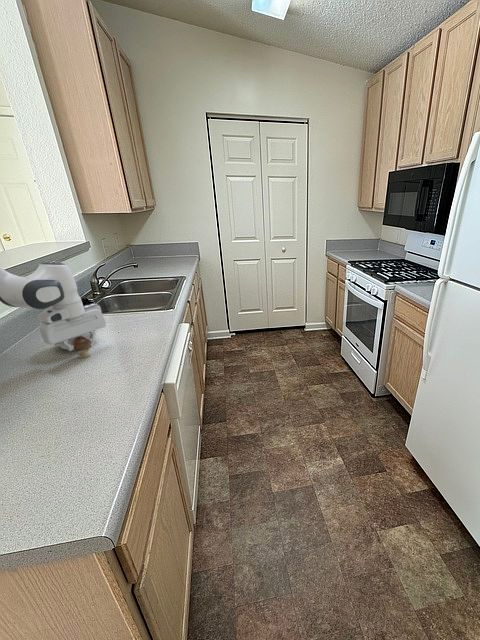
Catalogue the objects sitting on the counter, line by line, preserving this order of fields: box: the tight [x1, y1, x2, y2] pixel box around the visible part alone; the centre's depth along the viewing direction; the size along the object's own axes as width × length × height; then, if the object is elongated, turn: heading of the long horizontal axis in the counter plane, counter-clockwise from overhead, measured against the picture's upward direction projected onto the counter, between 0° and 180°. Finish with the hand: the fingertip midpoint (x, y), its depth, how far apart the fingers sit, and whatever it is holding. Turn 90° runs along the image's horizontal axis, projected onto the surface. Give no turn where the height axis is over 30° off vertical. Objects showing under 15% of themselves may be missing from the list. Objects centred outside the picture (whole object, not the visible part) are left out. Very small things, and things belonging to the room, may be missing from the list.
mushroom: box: [71, 336, 93, 359], centre depth 121 cm, size 6×6×8 cm
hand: (81, 346), depth 121 cm, fingers closed on mushroom, 6 cm apart
